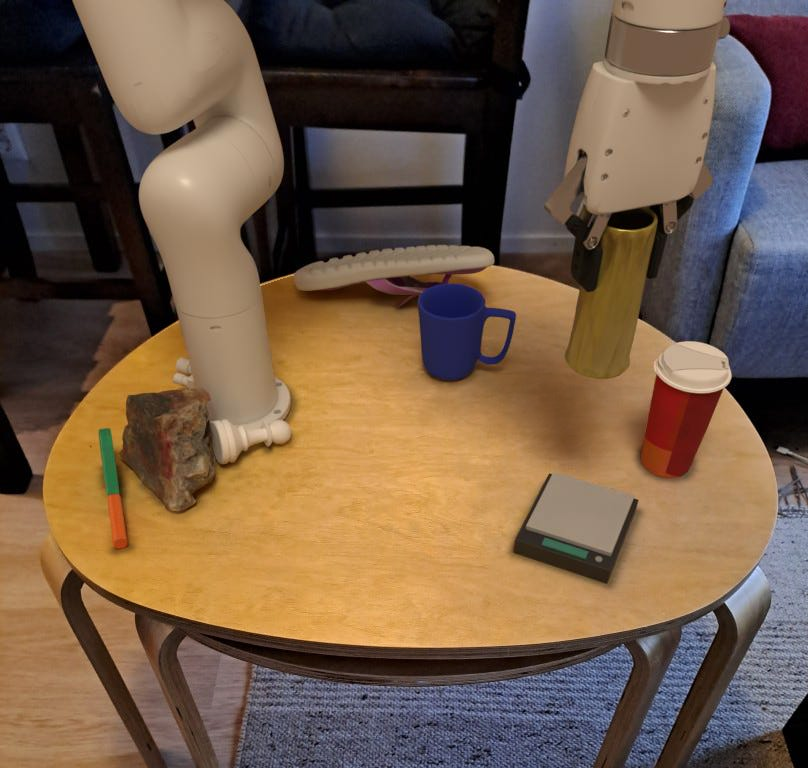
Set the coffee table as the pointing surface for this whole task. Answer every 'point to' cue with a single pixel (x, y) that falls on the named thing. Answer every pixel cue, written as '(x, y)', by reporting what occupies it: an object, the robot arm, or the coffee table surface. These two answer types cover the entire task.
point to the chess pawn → (244, 438)
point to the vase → (613, 297)
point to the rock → (170, 443)
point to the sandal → (394, 268)
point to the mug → (456, 330)
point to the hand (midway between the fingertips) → (613, 275)
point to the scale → (576, 526)
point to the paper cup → (682, 405)
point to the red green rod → (112, 489)
